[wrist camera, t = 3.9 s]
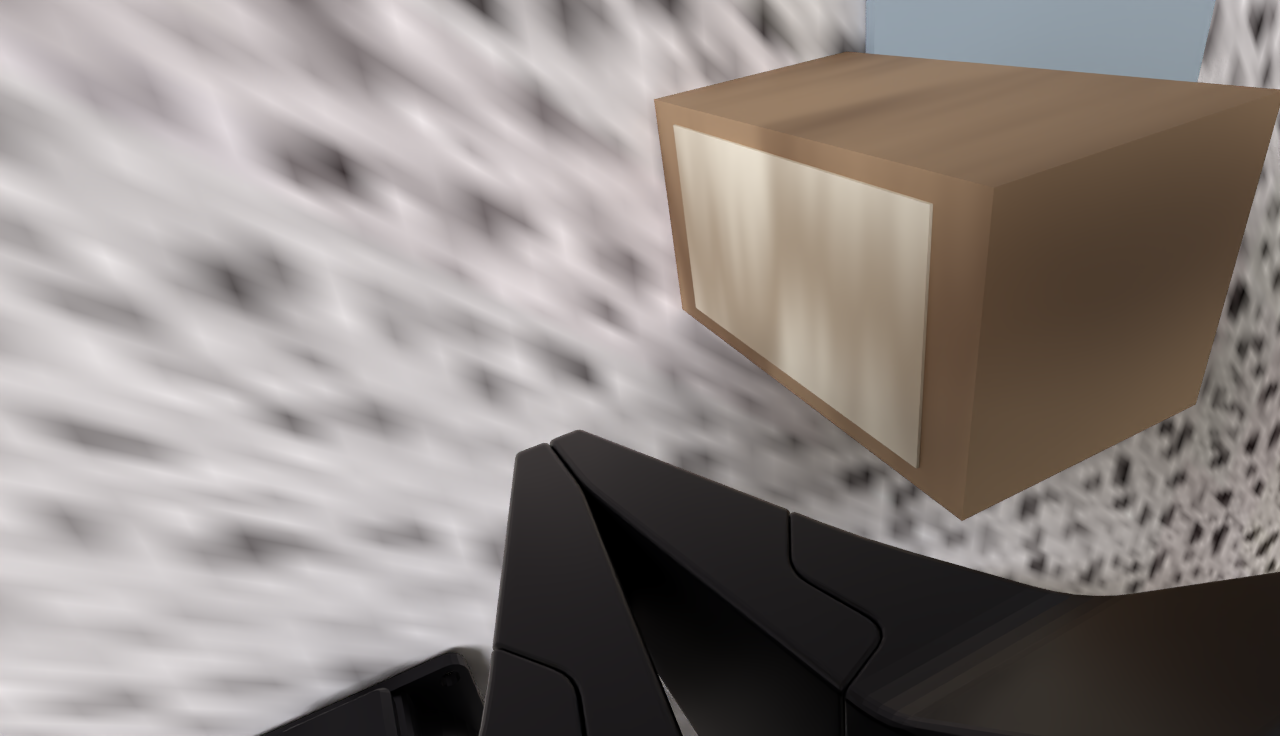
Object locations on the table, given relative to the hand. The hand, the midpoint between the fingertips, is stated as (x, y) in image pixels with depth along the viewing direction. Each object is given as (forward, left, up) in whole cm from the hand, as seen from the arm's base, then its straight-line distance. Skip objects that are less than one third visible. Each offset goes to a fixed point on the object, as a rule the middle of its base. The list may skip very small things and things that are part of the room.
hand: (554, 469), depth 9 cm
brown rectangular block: (0, -8, -8) cm, 11 cm away
